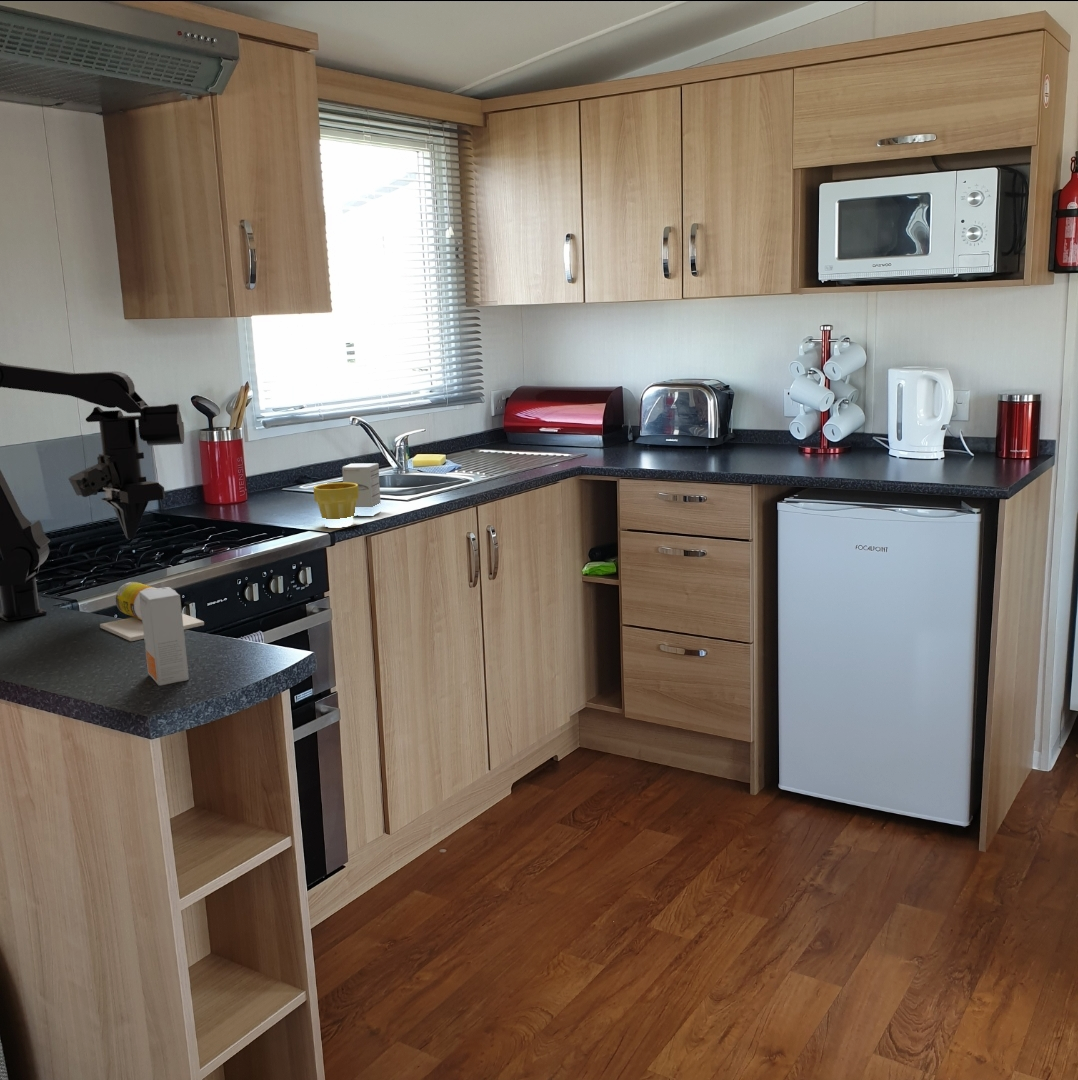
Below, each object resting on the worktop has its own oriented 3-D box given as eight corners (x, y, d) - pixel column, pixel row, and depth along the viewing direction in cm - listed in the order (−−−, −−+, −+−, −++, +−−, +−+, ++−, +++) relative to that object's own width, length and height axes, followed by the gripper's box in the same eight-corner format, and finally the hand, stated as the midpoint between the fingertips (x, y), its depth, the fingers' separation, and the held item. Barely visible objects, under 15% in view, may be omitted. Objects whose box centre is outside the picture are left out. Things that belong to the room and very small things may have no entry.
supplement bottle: (106, 597, 180) (134, 606, 173) (132, 574, 183) (160, 582, 175) (127, 621, 183) (155, 631, 176) (152, 598, 185) (181, 607, 178)
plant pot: (347, 531, 255) (344, 489, 253) (308, 529, 258) (305, 488, 256) (368, 522, 264) (365, 482, 262) (330, 521, 268) (327, 481, 266)
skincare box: (147, 675, 152) (138, 590, 149) (178, 669, 154) (170, 585, 151) (157, 686, 146) (148, 599, 144) (190, 680, 149) (181, 594, 146)
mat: (100, 627, 177) (100, 624, 177) (171, 612, 185) (171, 609, 185) (131, 641, 169) (130, 637, 169) (204, 625, 177) (203, 621, 177)
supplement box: (344, 517, 273) (340, 466, 271) (354, 512, 280) (351, 462, 278) (372, 517, 272) (369, 466, 269) (382, 512, 279) (379, 462, 277)
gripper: (51, 449, 187) (62, 539, 190) (93, 456, 173) (104, 553, 176) (116, 442, 194) (126, 529, 197) (161, 448, 180) (171, 542, 183)
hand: (130, 538), depth 188 cm, fingers closed
